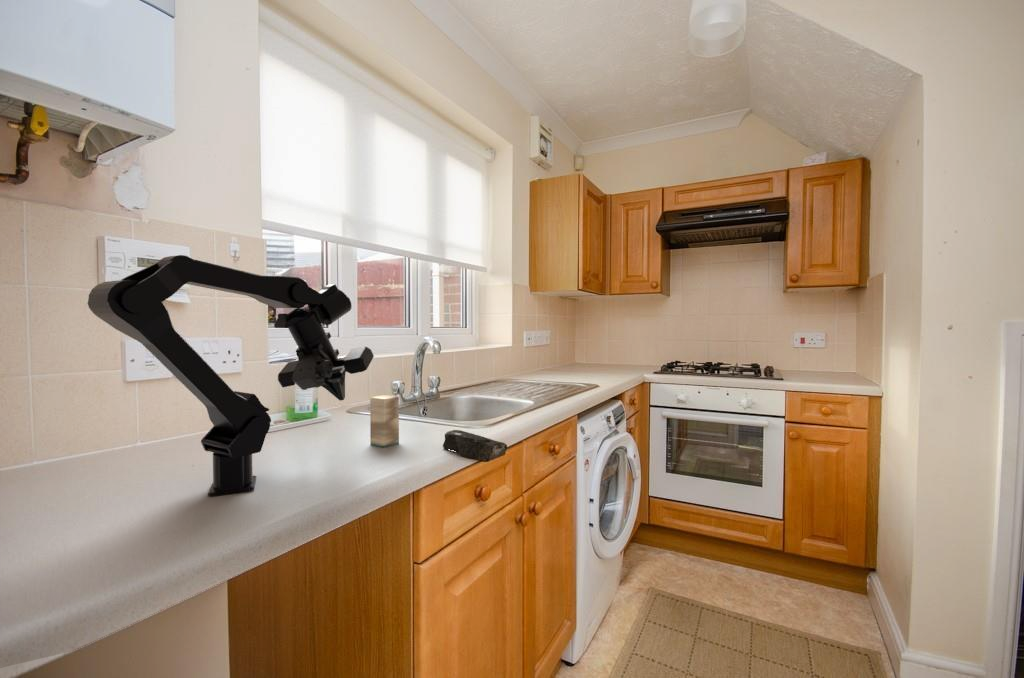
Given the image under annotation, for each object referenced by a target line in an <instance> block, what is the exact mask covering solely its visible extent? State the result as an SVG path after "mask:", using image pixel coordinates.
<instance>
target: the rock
mask: <svg viewBox="0 0 1024 678" xmlns="http://www.w3.org/2000/svg"><path fill="white" fill-rule="evenodd" d="M442 448H443V449H446V450H447V449H450V450H454V451H456V452H457V453H456V454H459V455H460V456H461V457H463V458H465V459H469V460H475V461H480V462H483V463H489V462H491V461H494V460H496V459H499V458H501V457H504V456H505V455H506V451H507V450H508V445H507V444H506V443H505V442H502V441H497V440H494V439H491V438H488V437H485V436H482V435H479V434H475V433H472V432H468V431H464V430H459V429H454V430H453V429H452V430H450V431H447V432H445V434H444V442H443V444H442Z"/></svg>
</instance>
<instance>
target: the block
mask: <svg viewBox="0 0 1024 678" xmlns="http://www.w3.org/2000/svg"><path fill="white" fill-rule="evenodd" d="M369 401H370V404H369V406H370V410H369V413H370V416H369V417H370V422H369V423H370V425H369V426H370V428H369V430H370V431H369V432H370V433H369V434H370V436H369V437H370V445H371V446H375V447H378V448H379V447H380V448H384V449H385V448H388V447H391V446H394V445H398V444H399V443H400V397H399V396H398V395H392V394H391V395H390V394H382V395H375V396H371V397H370V399H369Z"/></svg>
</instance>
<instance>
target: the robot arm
mask: <svg viewBox="0 0 1024 678" xmlns="http://www.w3.org/2000/svg"><path fill="white" fill-rule="evenodd" d="M184 285H188V286H189V285H190V286H195V287H201V288H204V289H210V290H215V291H221V292H225V293H226V292H227V293H230V294H231V293H232V294H235V295H241V296H242V295H243V296H247V297H249V298H252V299H254V300H256V301H257V302H259V303H262V304H264V305H267V306H269V307H272V308H275V309H293V310H291V311H289V312H288V313H277V318H276V320H275V321H274V324H273V327H274V328H275V329H288V331H289V333H290V335H291V336H292V338H293V340H294V342H295V343H296V345H297V347H298V348H297V349H296V350H295V353H296V356H297V359H298V360H294V361H289V362H287V363H286V364H285V366H284V367H283V368H281V370H280V372H279V373H278V374H277V382H278V383H279V384H280V386H281V387H282V388H287V387H291V386H292V387H293V386H295V385H297V386H298V388H300V389H301V390H302V391H305V390H308V389H313V388H320V387H323V389H325V390H326V391H328V393H330V394H331V395H332V396H333V397H335V398H336V399H337V400H339V401H344V400H345V399H346V373H348V374H350V375H351V374H359V373H363V372H364V371H367V370H368V368H369V365H370V364H371V363H372V361H373V358H374V357H375V355H374V353H373V351H372V349H371V348H369V347H367V346H363V347H357V348H352V349H350V351H349V352H348V353H347V355H343V356H339V354H340V351H339V349H338V348H337V349H335V348H334V347H333V345H332V342H331V341H330V339H331V337H332V335H331V332H329V331H328V332H326V330H325V329H324V326H323V325H326V326H330V325H332V324H333V323H334V322H336V321H338V320H339V319H340V318H342V317H343V316H345V315H346V314H348V313H349V312H351V310H352V307H353V306H352V302H351V300H350V297H349V296H348V295H346V293H345V292H344V291H342V290H340V289H339V288H338V287H337V285H336V284H333V283H332V284H331V283H330V284H327V285H326V286H324V287H323V288H322V289H320V290H318V291H317V290H315V289H314V288H312V287H311V286H309V285H308V282H307V281H306V280H305V279H304V278H301V277H298V276H284V275H283V276H281V275H276V276H275V275H261V274H256V273H254V272H253V273H252V272H248V271H245V270H240V269H236V268H232V267H227V266H224V265H219V264H215V263H211V262H208V261H203V260H198V259H194V258H193V257H190V256H188V255H184V254H178V255H169V256H165V257H162V258H161V259H160V260H159V261H157V262H155V263H154V264H151V265H150V266H147V267H145V268H143V269H141V270H138V271H136V272H135V273H132V274H129V275H127V276H125V277H124V278H121V279H120V280H111V281H109V280H108V281H103V282H101V283H98V284H96V286H94V287H93V288H92V289H91V291H90V292H89V294H88V300H87V307H88V308H89V310H90V311H91V312H92V313H93V315H95V316H96V317H97V318H99V319H100V320H102V321H103V322H105V323H106V324H108V325H109V326H111V327H112V328H114V330H116V331H119V332H120V333H122V334H124V335H125V336H128V337H130V338H131V339H133V340H135V341H137V342H139V343H141V345H142V346H143V347H144V348H145V349H147V351H148V352H150V353H151V354H152V355H153V356H154V357H155V358H156V359H157V360H158V361H159V363H161V365H163V366H164V367H165V368H166V369H167V370H168V371H169V372H170V373H171V374H172V375H173V376H174V377H175V378H176V379H177V380H178V381H179V382H180V383H182V385H184V387H185V388H187V390H188V391H190V393H191V394H193V395H194V396H195V398H197V399H198V401H200V402H201V403H202V404H203V405H204V407H205V408H206V410H207V411H206V412H207V414H208V417H209V420H210V422H211V423H212V425H213V426H212V427H211V428H210V429H209V431H208V432H207V433H206V434H205V435H204V436H203V437H202V439H201V440H200V443H201V445H202V448H203V450H204V451H205V452H210V453H212V484H211V485H210V488H209V490H208V492H207V496H209V497H213V496H219V495H227V494H233V493H234V494H235V493H240V492H241V493H242V492H250V491H254V490H255V487H256V482H257V475H253V455H254V454H257V453H260V452H261V451H262V449H263V445H264V442H265V440H266V437H267V434H268V433H269V430H270V427H271V423H272V419H271V416H270V415H269V413H268V412H269V411H270V408H269V407H265V406H264V405H263V403H262V402H261V401H260V400H259V397H258V396H257V394H254V393H252V392H251V393H249V392H244V391H243V392H242V391H236V390H233V389H232V388H231V387H230V386H229V385H228V384H227V383H226V381H224V380H223V378H221V377H220V375H219V374H218V373H217V372H216V371H215V370H214V369H213V368H212V367H211V366H210V365H209V364H208V363H207V361H205V359H204V358H203V357H202V356H201V355H200V354H199V353H198V352H197V351H196V350H195V348H193V346H191V345H190V343H189V342H188V341H186V339H185V338H184V337H183V336H182V335H181V334H180V333H179V332H178V331H177V330H176V329H175V326H174V325H173V323H172V320H171V317H170V314H169V311H168V308H167V306H166V305H165V303H164V302H165V301H166V300H167V299H169V298H170V297H172V296H173V295H175V294H176V293H177V292H178V290H180V289H181V288H182V287H183V286H184Z"/></svg>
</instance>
